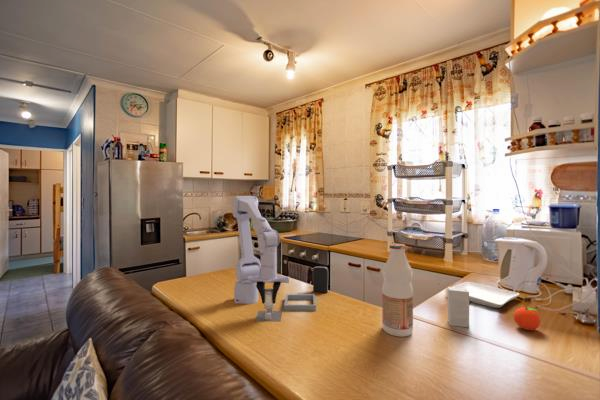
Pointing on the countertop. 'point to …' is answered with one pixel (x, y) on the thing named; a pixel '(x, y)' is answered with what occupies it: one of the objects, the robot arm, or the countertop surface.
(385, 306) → the fruit juice
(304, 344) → the countertop surface
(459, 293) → the skincare box
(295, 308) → the parts tray
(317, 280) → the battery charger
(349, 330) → the countertop surface
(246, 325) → the countertop surface
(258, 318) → the plate
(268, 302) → the cylinder
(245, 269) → the robot arm
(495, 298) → the salad plate
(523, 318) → the red tomato
